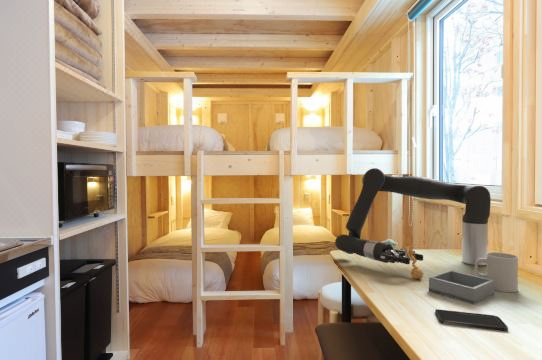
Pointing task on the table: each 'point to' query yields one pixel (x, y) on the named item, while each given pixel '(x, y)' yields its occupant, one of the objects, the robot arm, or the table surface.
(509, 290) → the mug
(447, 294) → the tote
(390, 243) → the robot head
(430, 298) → the table surface
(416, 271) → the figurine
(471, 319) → the phone
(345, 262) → the table surface
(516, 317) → the table surface
